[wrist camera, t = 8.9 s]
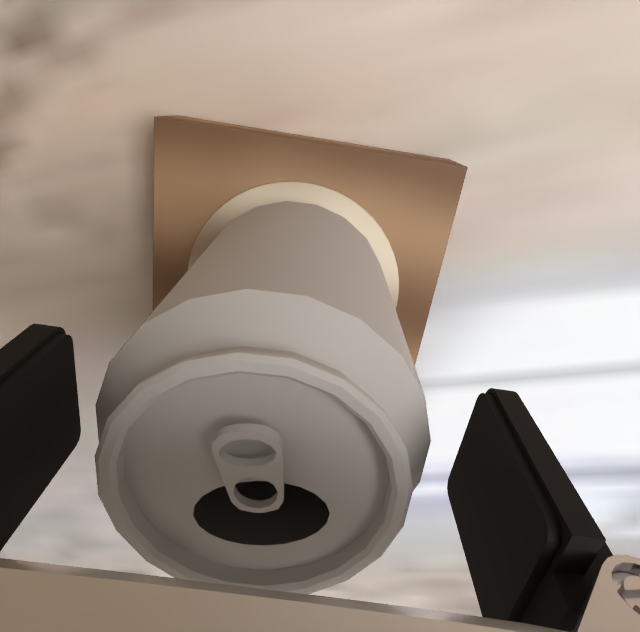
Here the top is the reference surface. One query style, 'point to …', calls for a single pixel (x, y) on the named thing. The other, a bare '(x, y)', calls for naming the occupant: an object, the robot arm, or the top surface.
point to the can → (266, 411)
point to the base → (303, 200)
